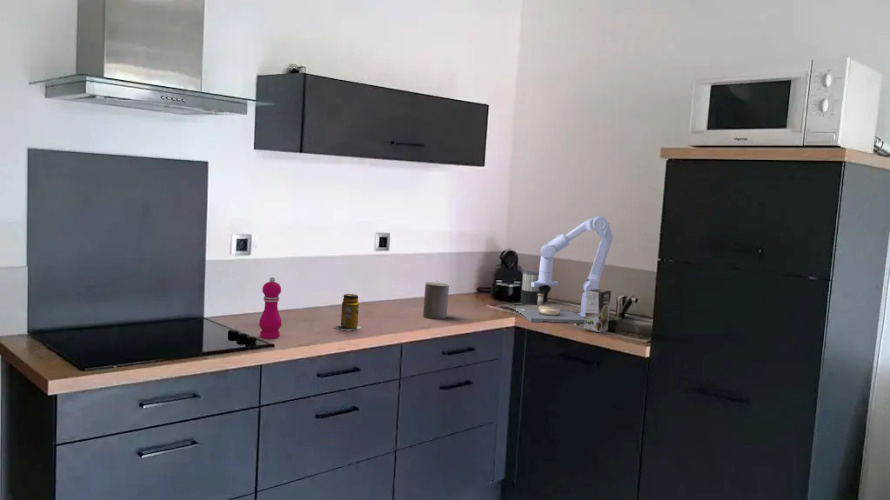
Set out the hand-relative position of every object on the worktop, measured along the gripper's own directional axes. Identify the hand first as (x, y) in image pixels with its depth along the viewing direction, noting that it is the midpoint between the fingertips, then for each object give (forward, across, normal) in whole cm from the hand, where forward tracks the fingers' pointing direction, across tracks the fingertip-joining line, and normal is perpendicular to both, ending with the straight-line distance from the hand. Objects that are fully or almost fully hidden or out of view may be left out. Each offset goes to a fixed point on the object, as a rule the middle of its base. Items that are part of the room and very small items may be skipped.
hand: (543, 302), depth 320 cm
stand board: (+4, +4, +9) cm, 11 cm away
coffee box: (+4, +6, +37) cm, 37 cm away
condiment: (+5, +97, 0) cm, 97 cm away
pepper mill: (+5, +129, +4) cm, 129 cm away
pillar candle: (+5, +53, -7) cm, 54 cm away
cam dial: (+3, +4, +7) cm, 8 cm away
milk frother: (+5, -12, -25) cm, 28 cm away
